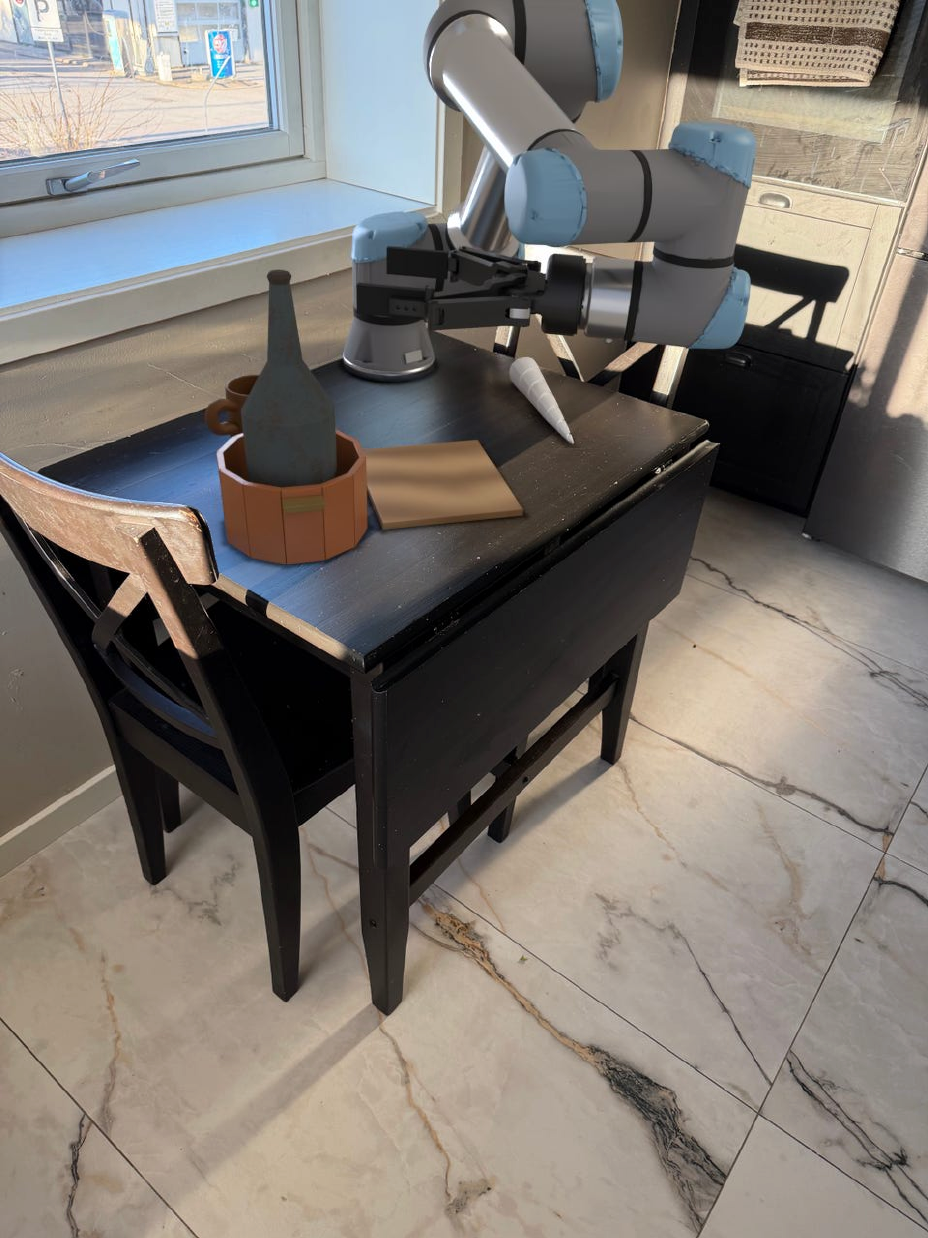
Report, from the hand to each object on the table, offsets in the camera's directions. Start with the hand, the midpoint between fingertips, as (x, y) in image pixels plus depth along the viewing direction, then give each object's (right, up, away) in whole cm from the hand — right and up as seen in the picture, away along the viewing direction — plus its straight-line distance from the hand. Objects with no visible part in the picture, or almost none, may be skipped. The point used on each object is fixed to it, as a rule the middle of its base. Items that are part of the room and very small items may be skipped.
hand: (372, 277), depth 91 cm
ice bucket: (-11, -23, +19) cm, 32 cm away
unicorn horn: (+22, -2, +50) cm, 55 cm away
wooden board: (+5, -17, +29) cm, 34 cm away
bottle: (-11, -23, +19) cm, 32 cm away
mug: (-20, -12, +33) cm, 41 cm away
